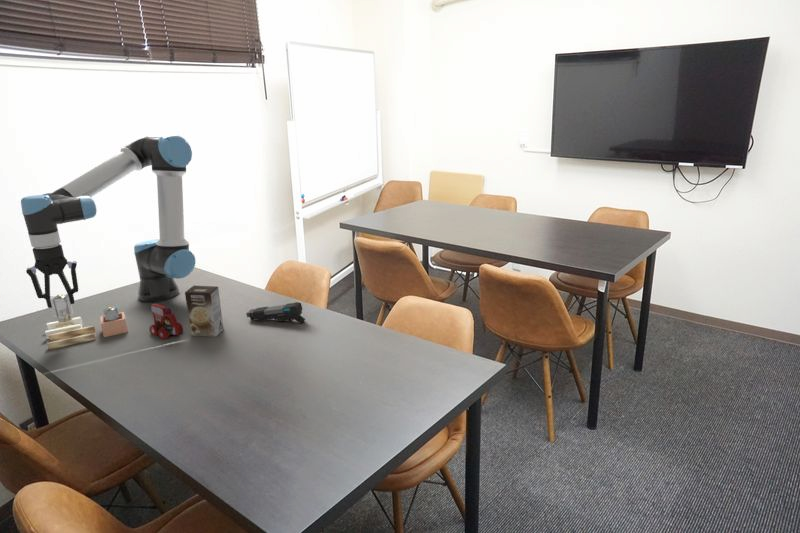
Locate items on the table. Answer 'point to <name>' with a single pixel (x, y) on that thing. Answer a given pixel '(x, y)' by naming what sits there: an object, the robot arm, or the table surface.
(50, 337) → the trough
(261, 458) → the table surface
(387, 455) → the table surface
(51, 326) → the cradle
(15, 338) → the table surface
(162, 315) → the toy fire truck
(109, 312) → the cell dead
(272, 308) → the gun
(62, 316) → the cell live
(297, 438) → the table surface
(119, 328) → the square hollow tube
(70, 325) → the tan flat square block
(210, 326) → the coffee box
